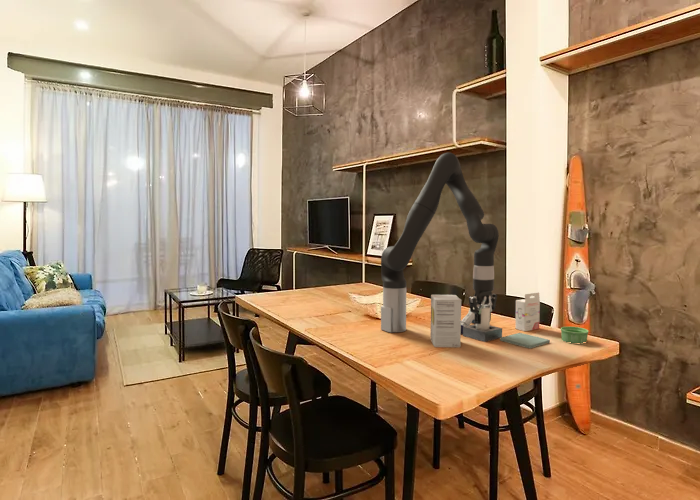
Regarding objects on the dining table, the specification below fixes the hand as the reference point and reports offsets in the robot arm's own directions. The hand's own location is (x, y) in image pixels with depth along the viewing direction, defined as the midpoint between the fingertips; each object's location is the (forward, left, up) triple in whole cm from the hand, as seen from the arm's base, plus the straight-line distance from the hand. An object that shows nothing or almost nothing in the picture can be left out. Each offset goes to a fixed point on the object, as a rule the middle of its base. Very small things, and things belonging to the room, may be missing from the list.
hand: (482, 322), depth 163 cm
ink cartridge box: (+24, -3, -6) cm, 25 cm away
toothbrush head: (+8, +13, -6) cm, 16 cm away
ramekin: (+22, -23, -6) cm, 32 cm away
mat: (+7, -13, -5) cm, 16 cm away
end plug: (0, 0, -5) cm, 5 cm away
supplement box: (-18, +2, -6) cm, 19 cm away
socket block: (0, 0, -5) cm, 5 cm away
